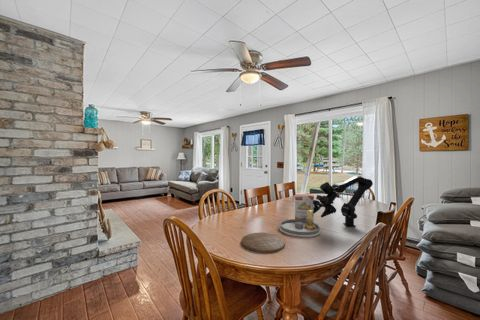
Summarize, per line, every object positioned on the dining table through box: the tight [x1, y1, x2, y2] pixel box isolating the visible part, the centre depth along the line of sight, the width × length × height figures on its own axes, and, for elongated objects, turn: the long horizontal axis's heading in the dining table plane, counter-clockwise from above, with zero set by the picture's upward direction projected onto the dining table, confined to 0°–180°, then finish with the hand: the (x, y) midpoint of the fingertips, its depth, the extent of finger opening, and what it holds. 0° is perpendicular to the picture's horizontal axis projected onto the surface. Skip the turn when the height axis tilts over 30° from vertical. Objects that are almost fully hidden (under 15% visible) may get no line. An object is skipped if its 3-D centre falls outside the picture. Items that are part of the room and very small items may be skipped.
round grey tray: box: [278, 218, 321, 238], centre depth 141 cm, size 27×27×4 cm
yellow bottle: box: [305, 210, 316, 230], centre depth 140 cm, size 7×7×12 cm
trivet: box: [241, 232, 286, 254], centre depth 118 cm, size 25×25×2 cm
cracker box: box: [294, 193, 315, 223], centre depth 159 cm, size 14×6×21 cm, turn 73°
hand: (316, 215), depth 142 cm, fingers open, 9 cm apart
